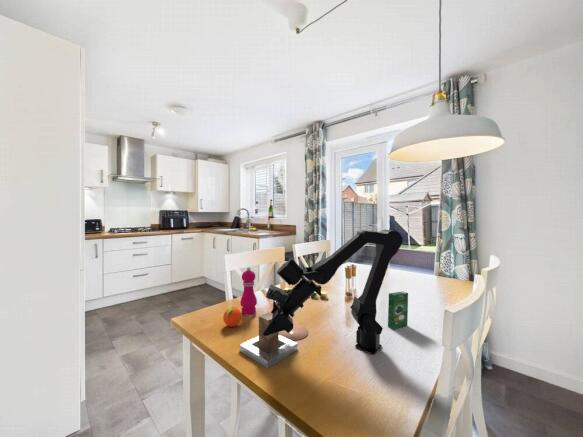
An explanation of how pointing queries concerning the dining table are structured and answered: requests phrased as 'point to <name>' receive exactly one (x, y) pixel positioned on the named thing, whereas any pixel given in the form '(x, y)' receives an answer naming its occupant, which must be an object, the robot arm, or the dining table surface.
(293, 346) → the metal collar stand
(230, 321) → the clementine
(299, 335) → the terracotta coaster
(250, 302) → the pepper mill
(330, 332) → the dining table surface
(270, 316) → the walnut block
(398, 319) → the coffee box
